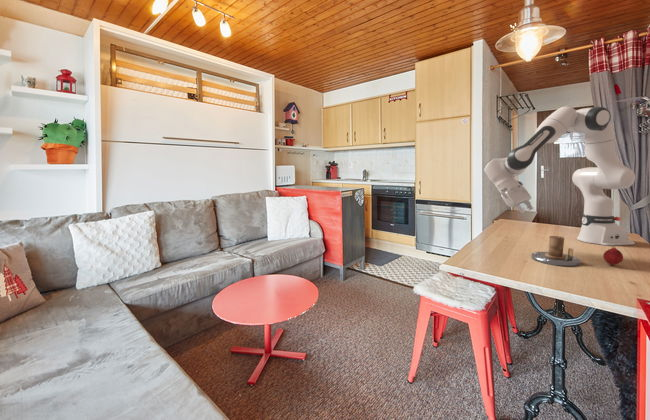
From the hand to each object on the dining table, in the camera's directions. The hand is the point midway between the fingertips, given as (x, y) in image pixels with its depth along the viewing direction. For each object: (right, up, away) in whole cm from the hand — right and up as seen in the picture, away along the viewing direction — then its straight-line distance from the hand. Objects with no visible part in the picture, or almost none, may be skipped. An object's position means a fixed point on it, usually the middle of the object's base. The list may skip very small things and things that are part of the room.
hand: (527, 210), depth 140 cm
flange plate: (+5, -22, -10) cm, 24 cm away
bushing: (+5, -20, -11) cm, 23 cm away
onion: (+22, -23, -19) cm, 37 cm away
